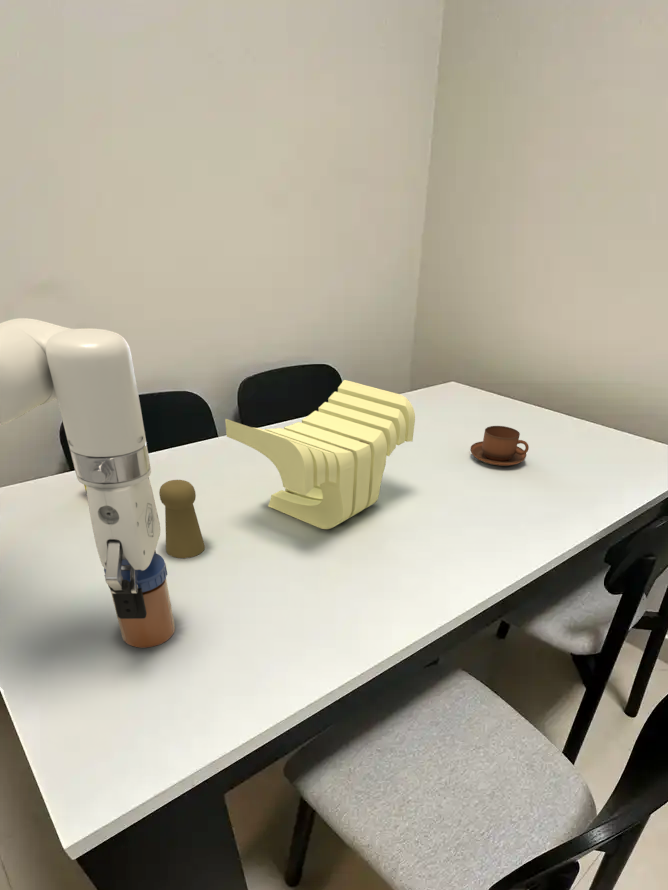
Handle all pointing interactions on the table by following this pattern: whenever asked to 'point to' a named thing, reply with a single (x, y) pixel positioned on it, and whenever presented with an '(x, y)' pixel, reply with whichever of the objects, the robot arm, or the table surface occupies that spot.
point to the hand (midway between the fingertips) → (140, 595)
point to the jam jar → (150, 620)
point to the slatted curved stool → (333, 452)
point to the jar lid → (148, 573)
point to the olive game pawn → (181, 520)
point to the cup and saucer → (500, 447)
